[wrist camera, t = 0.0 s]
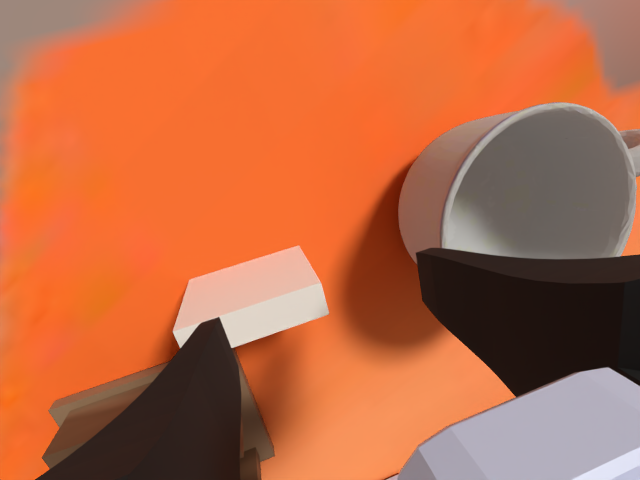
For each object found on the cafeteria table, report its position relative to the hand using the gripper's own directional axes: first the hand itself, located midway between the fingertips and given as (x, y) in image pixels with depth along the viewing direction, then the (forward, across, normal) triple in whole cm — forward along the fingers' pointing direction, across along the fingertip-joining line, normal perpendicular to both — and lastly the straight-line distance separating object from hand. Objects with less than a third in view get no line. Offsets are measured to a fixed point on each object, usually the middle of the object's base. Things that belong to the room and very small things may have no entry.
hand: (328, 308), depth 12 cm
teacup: (+10, -13, +1) cm, 17 cm away
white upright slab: (+10, +3, +2) cm, 11 cm away
